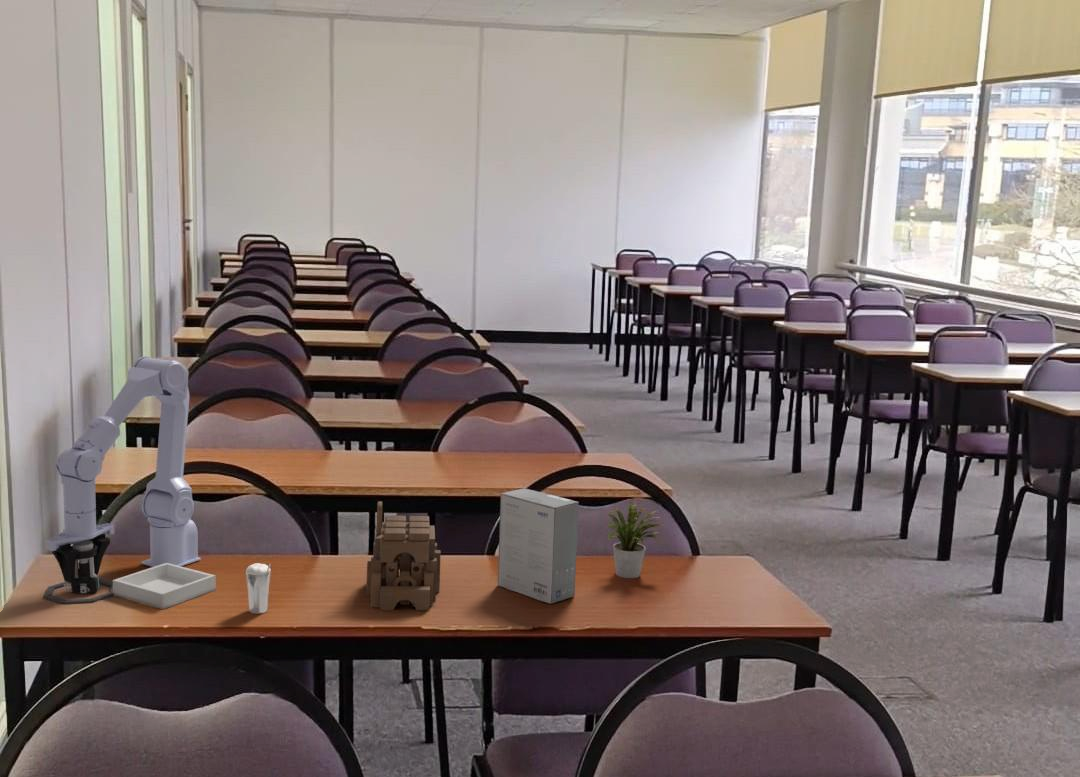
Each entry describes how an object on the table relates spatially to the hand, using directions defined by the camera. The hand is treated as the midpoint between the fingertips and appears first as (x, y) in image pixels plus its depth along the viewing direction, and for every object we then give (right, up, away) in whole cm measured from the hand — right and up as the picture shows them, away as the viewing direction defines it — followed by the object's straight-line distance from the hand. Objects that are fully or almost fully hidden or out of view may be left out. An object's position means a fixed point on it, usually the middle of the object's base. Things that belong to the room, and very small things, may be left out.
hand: (81, 577), depth 223 cm
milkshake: (+36, -6, -6) cm, 37 cm away
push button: (0, -3, +1) cm, 3 cm away
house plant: (+108, -4, +24) cm, 111 cm away
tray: (+16, -3, +2) cm, 16 cm away
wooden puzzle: (+62, -5, +9) cm, 63 cm away
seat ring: (0, -3, 0) cm, 3 cm away
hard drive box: (+89, -5, +12) cm, 89 cm away
